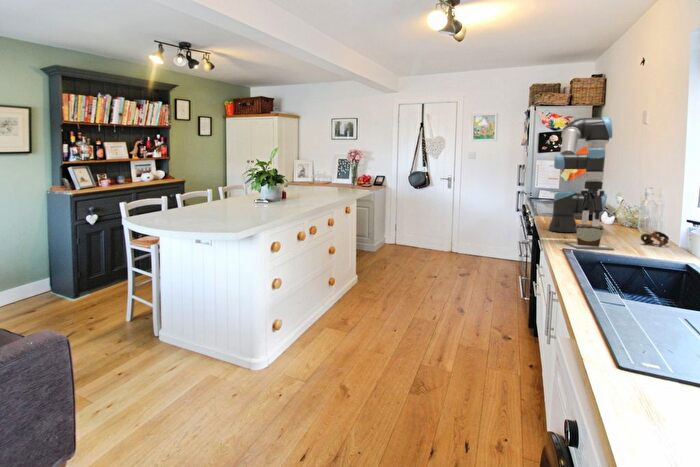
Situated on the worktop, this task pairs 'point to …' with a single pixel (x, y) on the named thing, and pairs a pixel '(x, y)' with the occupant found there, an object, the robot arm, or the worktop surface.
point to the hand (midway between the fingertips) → (590, 225)
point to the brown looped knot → (655, 236)
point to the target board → (601, 247)
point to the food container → (589, 235)
